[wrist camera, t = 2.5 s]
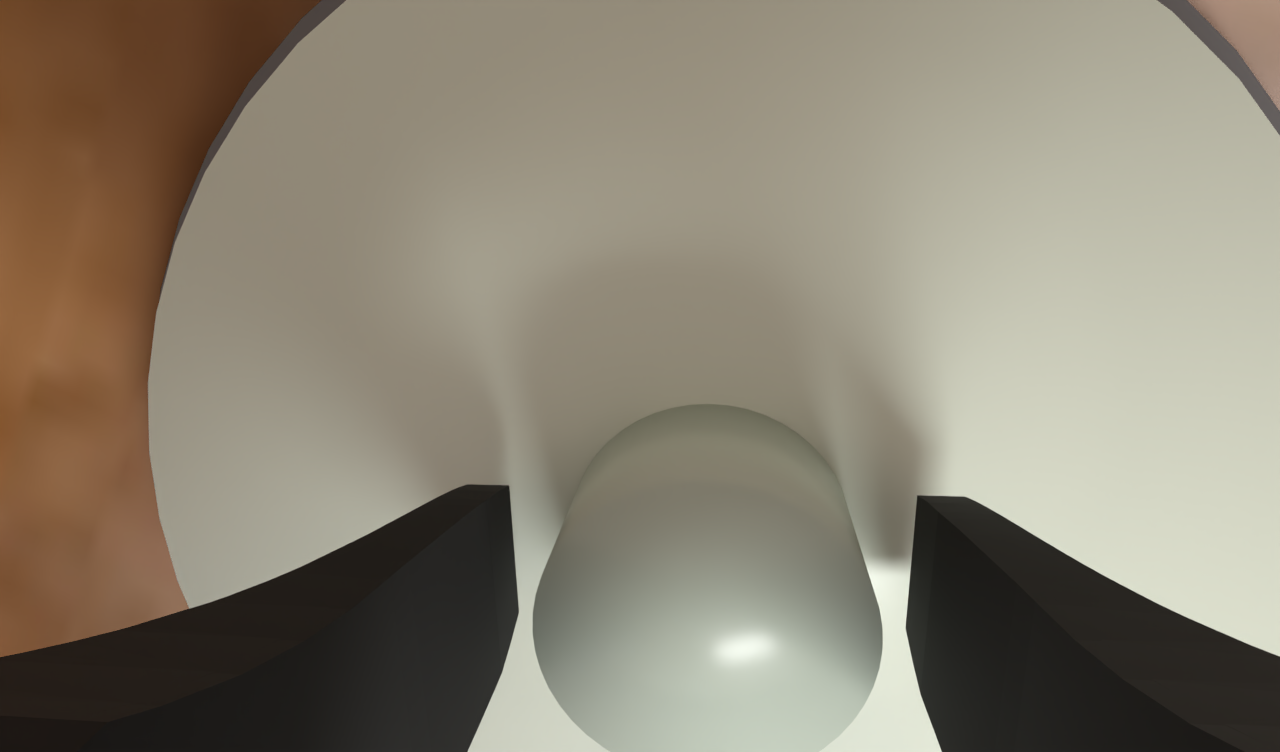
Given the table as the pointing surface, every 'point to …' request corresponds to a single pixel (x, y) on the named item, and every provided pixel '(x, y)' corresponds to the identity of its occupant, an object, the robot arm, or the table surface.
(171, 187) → the table surface
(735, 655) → the lid
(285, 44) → the mat
